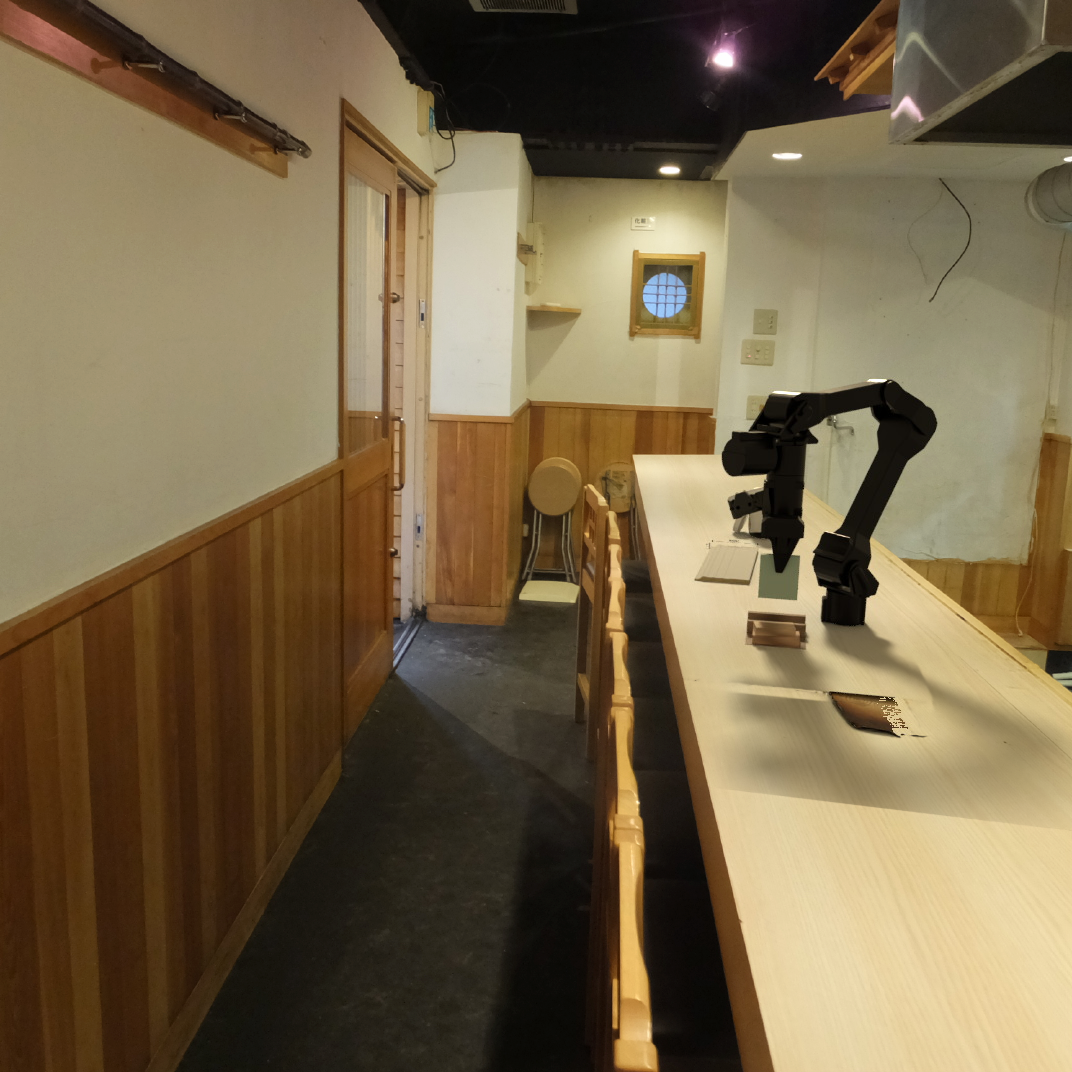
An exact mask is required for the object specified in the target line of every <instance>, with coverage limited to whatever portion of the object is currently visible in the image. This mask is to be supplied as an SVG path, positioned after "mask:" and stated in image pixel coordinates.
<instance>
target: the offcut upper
mask: <svg viewBox="0 0 1072 1072" xmlns="http://www.w3.org/2000/svg"><path fill="white" fill-rule="evenodd" d="M753 630H754V632H755V635H761V636H785V637H796V628H795V626H794V624H793V623H790V622H765V621H754V622H753Z"/></svg>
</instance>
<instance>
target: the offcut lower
mask: <svg viewBox="0 0 1072 1072" xmlns="http://www.w3.org/2000/svg"><path fill="white" fill-rule="evenodd" d="M752 643H758V644H770V645H782V646H794V647H799V643H800V635H799V631H796V637H785V636H761V635H755V632H754V630H753V636H752Z"/></svg>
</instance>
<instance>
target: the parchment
mask: <svg viewBox="0 0 1072 1072" xmlns="http://www.w3.org/2000/svg"><path fill="white" fill-rule="evenodd" d="M829 695H830V696H831V700H832V701H834V702H835V703H836V706H838V708H839V709H841V712H842V713H843V714H844V716H845V718H846V719H847V720H848V721H850V723H851V724H852V725H853V726H854V728H856V729H860V728H869V729H875V730H880V731H881V730H882V731H887V732H890V733H893V730H892V728H899V727H894V725H892V723H891V722H889V721H888V720H887V717H883V716H888V715H890V712H885V713H887V714H884V712H883V710H886V709H887V708H891V709H887V711H891V712H893V710H892V709H894V711H895V710H898V711H901V710H900V709H895V707H892V706H895V705H896V706H898V704H897V702H895V700H894V699H893V698H895V697H896V696H887V695H886V696H885V695H874V694H865V693H864V694H862V693H852V692H841V691H832V690H829ZM884 697H885V698H886V699H880V698H884ZM888 697H889V698H891V699H889V698H888ZM879 700H886V701H879ZM893 700H894V701H893ZM877 703H878V704H877ZM895 703H896V704H895ZM884 705H885V707H882V706H884ZM886 705H887V706H886ZM890 705H891V707H888V706H890ZM881 708H883V709H881ZM888 713H889V714H888ZM894 713H896V715H898V714H897V713H901V712H894ZM894 715H895V714H894ZM894 715H891V716H894ZM890 718H892V717H890ZM889 720H890V719H889ZM894 720H895V719H894ZM896 720H900V721H902V722H898V723H902V724H905V722H903V720H902V719H901V718H899V719H896ZM893 723H895V722H893ZM890 724H891V725H890ZM895 724H897V722H896V723H895ZM892 726H893V727H892ZM896 726H897V725H896ZM900 726H902V728H907V729H908V727H904V726H905V725H900ZM900 728H901V727H900Z"/></svg>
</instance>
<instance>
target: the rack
mask: <svg viewBox="0 0 1072 1072" xmlns="http://www.w3.org/2000/svg"><path fill="white" fill-rule="evenodd" d="M806 618H807V617H806V614H798V613H797V614H796V613H787V612H786V613H785V612H783V613H782V612H770V611H757V610H748V611H747V618H746V620H747V621H746V635H745V644H744V645H747V646H760V647H761V646H762V647H770V648H771V647H773V648H784V649H794V650H795V649H796V650H797V649H798V650H807V644H806V633H807V632H806V629H807V623H806ZM754 621H765V622H790V623H793V624H794V626H795V628H796V631H799V635H800V643H799V647H794V646H782V645H770V644H758V643H752V636H753V622H754Z"/></svg>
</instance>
